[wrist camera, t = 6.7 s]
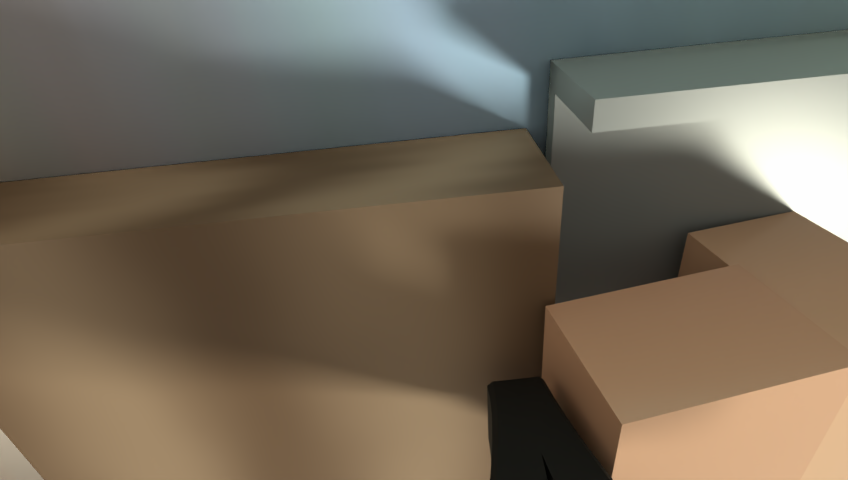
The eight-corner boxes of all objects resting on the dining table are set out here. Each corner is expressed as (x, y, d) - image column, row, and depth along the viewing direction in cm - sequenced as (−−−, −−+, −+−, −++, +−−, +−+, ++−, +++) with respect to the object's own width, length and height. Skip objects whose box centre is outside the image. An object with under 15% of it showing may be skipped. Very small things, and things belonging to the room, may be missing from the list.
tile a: (738, 264, 11) (865, 362, 9) (696, 398, 14) (785, 505, 11) (545, 306, 11) (622, 424, 8) (538, 438, 13) (595, 560, 11)
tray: (1070, 7, 11) (1253, 32, 9) (847, 398, 18) (916, 470, 16) (550, 60, 11) (594, 99, 9) (531, 432, 18) (552, 510, 16)
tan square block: (687, 232, 13) (793, 210, 13) (658, 359, 15) (748, 338, 15) (852, 363, 9) (994, 326, 9) (778, 504, 11) (892, 470, 12)
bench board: (525, 128, 12) (563, 186, 9) (518, 407, 17) (540, 491, 15) (-31, 185, 12) (-145, 260, 9) (138, 448, 17) (96, 539, 15)
